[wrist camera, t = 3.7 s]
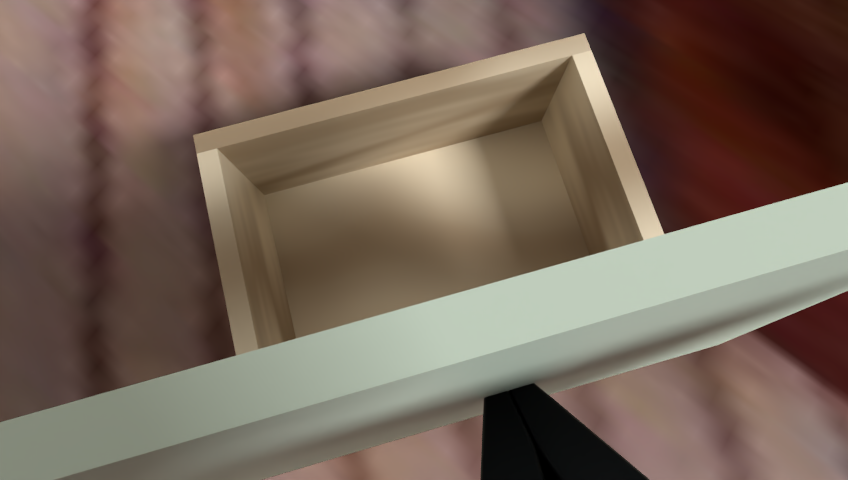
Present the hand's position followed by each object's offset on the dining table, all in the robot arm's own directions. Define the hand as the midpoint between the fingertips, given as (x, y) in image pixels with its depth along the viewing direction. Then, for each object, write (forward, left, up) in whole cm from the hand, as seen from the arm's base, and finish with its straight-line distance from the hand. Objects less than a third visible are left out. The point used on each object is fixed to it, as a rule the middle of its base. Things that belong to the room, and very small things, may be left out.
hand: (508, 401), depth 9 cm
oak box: (+4, -2, -10) cm, 11 cm away
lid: (+1, 0, 0) cm, 1 cm away
